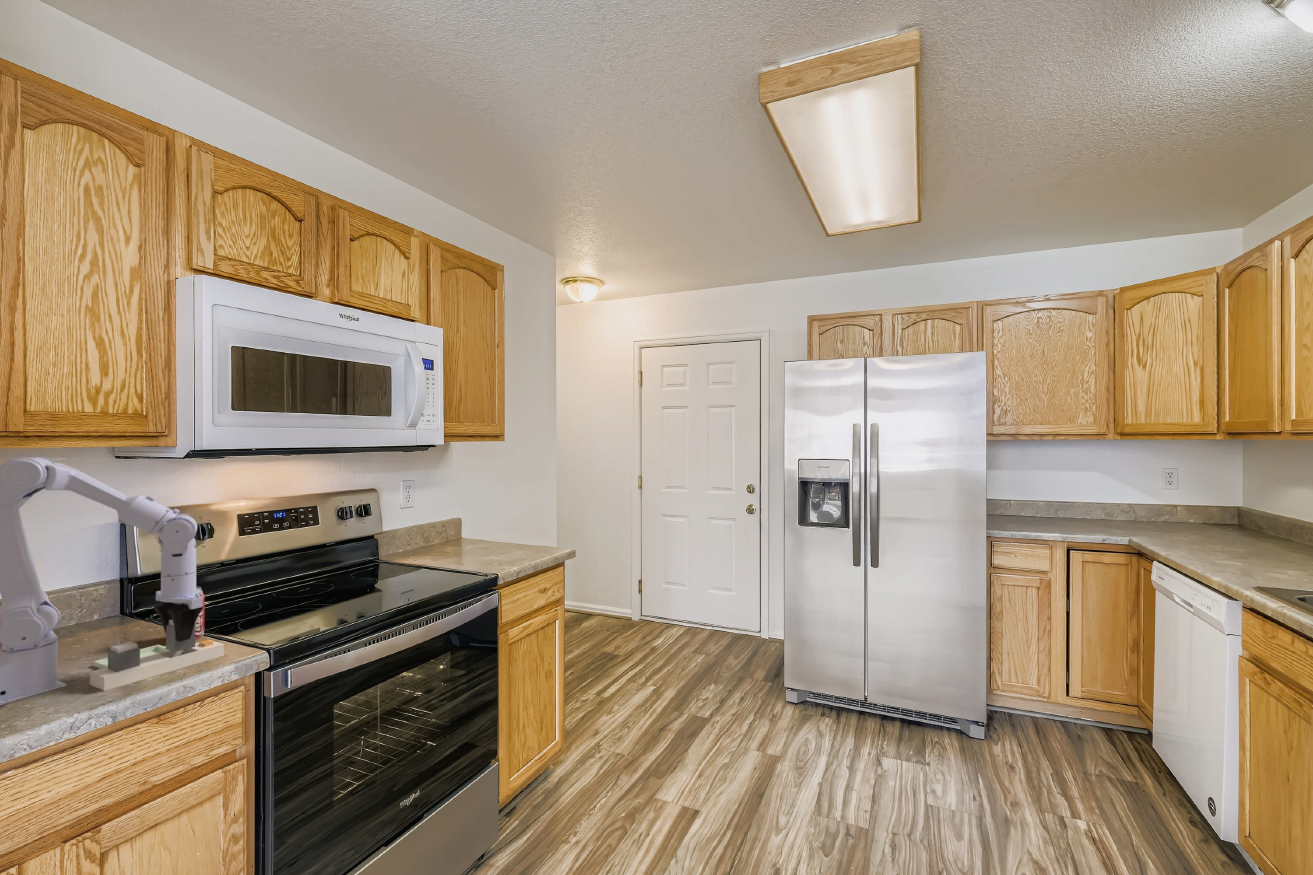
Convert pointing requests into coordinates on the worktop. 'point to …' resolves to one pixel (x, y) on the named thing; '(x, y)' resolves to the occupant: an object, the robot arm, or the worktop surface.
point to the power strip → (149, 663)
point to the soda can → (200, 619)
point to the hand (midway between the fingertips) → (178, 638)
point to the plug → (172, 641)
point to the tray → (143, 653)
